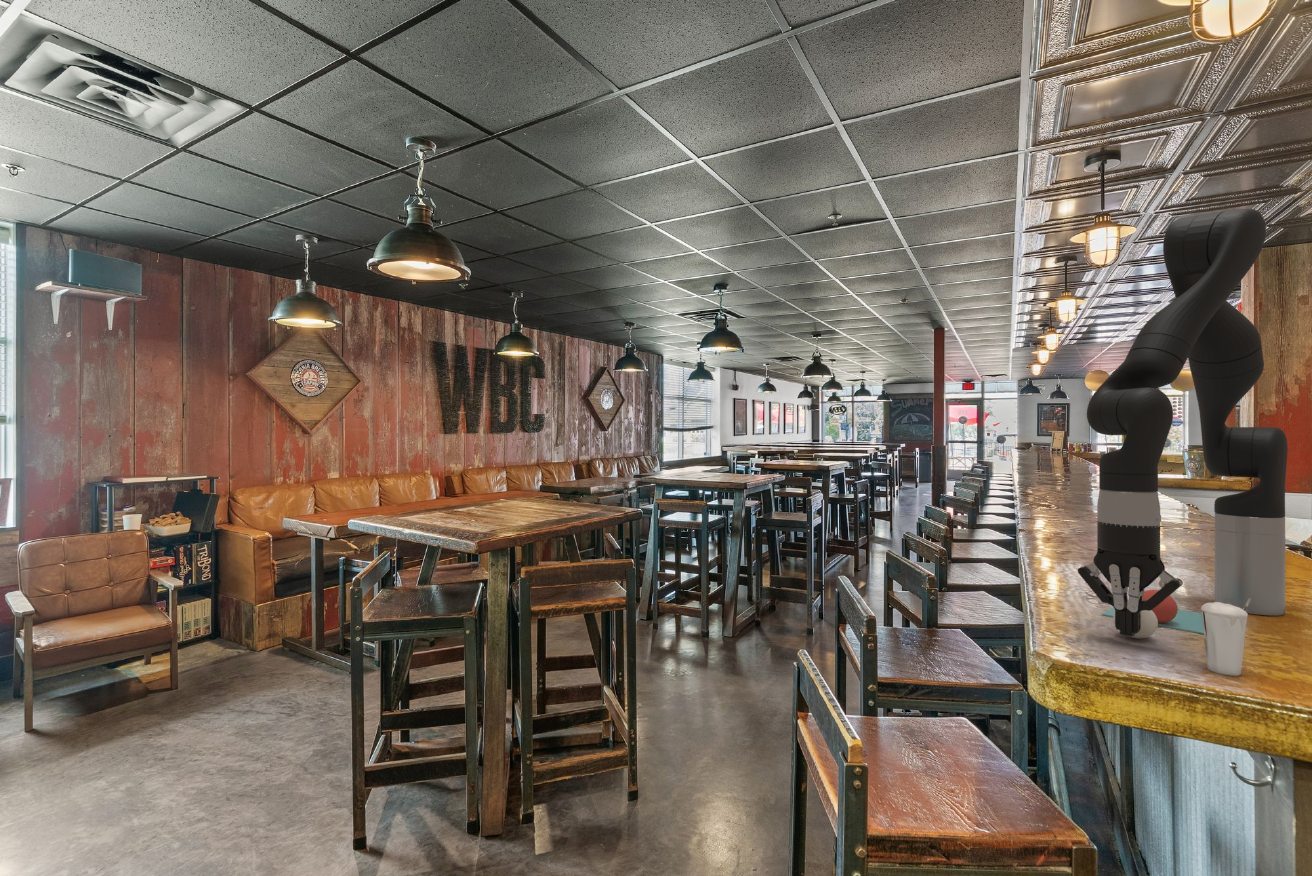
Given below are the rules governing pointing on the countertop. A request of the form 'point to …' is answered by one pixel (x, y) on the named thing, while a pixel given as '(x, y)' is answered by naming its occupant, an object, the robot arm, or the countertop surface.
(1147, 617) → the ball
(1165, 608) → the ball
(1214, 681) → the countertop surface
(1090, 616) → the countertop surface
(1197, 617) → the mark
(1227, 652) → the milkshake
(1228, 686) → the countertop surface
